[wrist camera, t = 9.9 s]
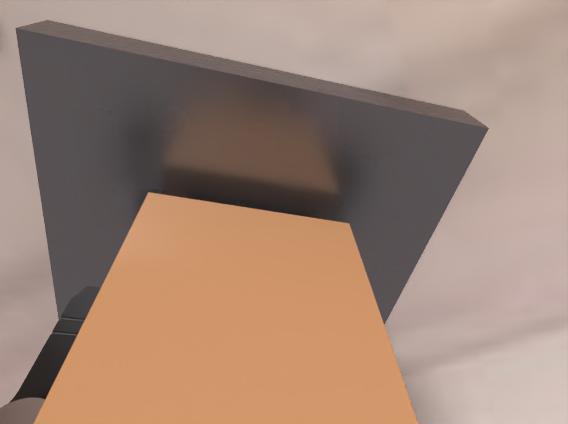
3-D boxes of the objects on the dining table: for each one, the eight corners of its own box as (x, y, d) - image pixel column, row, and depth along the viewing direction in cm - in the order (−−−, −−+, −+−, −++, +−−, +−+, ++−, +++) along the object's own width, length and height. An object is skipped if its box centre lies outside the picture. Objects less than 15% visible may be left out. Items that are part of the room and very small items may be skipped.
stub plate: (80, 327, 16) (-13, 513, 11) (46, 20, 10) (-225, 87, 4) (346, 353, 18) (384, 521, 12) (463, 111, 12) (642, 236, 6)
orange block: (148, 192, 10) (-13, 517, 4) (349, 223, 11) (453, 526, 5) (144, 331, 13) (47, 635, 7) (302, 346, 14) (333, 627, 8)
